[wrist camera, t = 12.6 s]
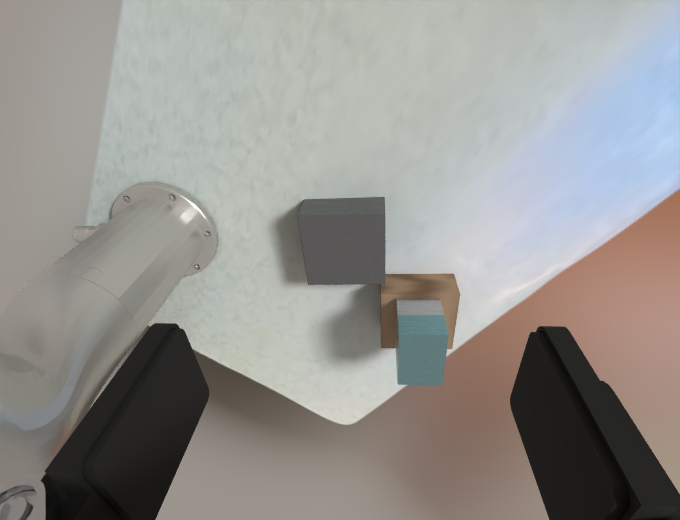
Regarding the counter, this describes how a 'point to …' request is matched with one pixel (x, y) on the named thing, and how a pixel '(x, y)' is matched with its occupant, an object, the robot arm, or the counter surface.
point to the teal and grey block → (420, 341)
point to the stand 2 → (417, 288)
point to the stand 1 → (343, 240)
